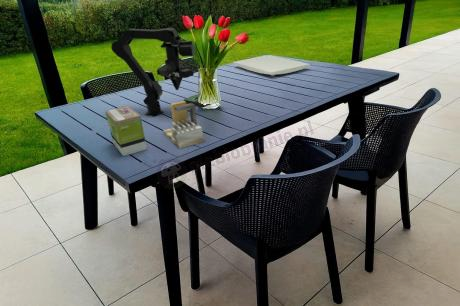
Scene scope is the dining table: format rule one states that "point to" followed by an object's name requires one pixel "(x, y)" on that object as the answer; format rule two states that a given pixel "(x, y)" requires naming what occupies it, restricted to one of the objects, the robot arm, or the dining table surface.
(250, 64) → the board
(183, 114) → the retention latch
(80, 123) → the dining table surface
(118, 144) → the tea box
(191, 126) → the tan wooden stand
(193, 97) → the disk drive
